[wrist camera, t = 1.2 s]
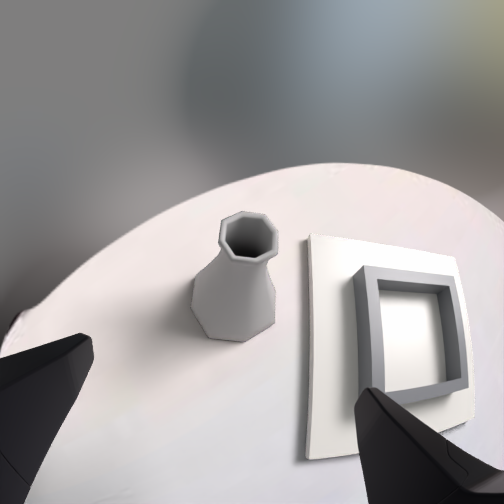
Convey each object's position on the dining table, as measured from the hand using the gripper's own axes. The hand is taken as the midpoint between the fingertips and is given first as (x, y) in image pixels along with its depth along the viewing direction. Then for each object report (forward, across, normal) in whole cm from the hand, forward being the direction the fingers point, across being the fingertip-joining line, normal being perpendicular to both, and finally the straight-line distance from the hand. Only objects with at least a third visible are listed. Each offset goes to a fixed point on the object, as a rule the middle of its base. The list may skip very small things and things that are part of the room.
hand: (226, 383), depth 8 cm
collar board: (+14, -17, +5) cm, 22 cm away
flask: (+15, 0, +4) cm, 15 cm away
